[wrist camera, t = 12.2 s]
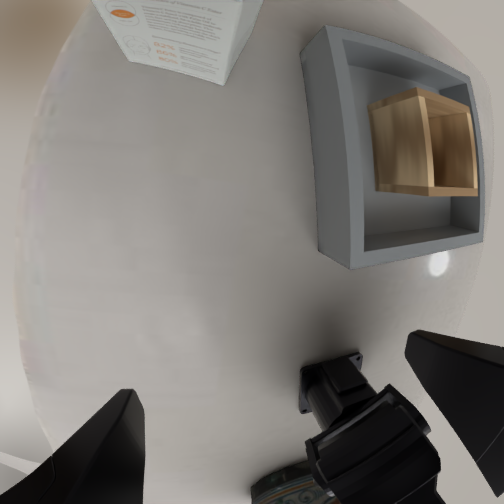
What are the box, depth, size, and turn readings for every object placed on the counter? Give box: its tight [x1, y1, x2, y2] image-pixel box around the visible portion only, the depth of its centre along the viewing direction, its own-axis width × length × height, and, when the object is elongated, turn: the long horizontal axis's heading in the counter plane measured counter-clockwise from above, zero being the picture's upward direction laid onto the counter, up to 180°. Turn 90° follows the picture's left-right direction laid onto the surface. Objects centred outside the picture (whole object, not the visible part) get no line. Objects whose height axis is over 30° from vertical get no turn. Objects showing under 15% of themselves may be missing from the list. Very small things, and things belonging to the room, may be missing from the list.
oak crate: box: [367, 87, 478, 197], centre depth 16 cm, size 7×6×6 cm
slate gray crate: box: [300, 25, 485, 270], centre depth 17 cm, size 16×16×5 cm
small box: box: [91, 0, 263, 86], centre depth 10 cm, size 8×6×10 cm
